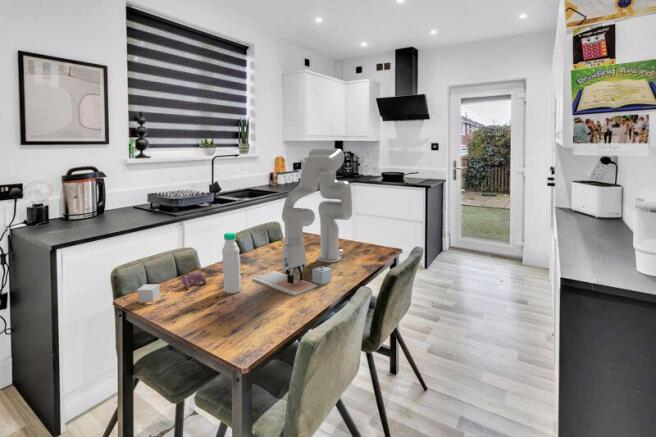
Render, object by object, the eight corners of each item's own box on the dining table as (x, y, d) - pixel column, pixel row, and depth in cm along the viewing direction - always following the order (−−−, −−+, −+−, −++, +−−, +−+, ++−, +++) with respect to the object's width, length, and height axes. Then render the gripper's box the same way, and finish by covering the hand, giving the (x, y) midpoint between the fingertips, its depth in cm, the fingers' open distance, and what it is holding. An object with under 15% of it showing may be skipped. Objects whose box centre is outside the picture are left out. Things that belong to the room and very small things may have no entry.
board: (274, 272, 186) (274, 270, 186) (316, 286, 168) (316, 284, 168) (252, 280, 177) (252, 277, 176) (295, 295, 159) (295, 293, 159)
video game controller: (203, 285, 175) (198, 270, 175) (208, 283, 172) (203, 268, 173) (183, 292, 167) (178, 276, 168) (188, 289, 164) (183, 274, 165)
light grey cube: (160, 298, 157) (159, 284, 156) (153, 304, 151) (152, 289, 150) (145, 298, 157) (144, 284, 156) (138, 304, 151) (137, 289, 150)
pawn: (294, 279, 171) (294, 264, 169) (301, 282, 168) (301, 266, 167) (287, 282, 168) (287, 267, 166) (294, 285, 165) (294, 269, 163)
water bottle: (224, 294, 160) (220, 236, 155) (224, 288, 167) (220, 232, 162) (241, 293, 162) (239, 234, 157) (240, 286, 169) (238, 230, 164)
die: (321, 278, 179) (321, 265, 178) (331, 281, 175) (331, 268, 174) (312, 281, 175) (312, 268, 174) (322, 285, 171) (322, 271, 170)
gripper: (301, 235, 173) (302, 274, 176) (272, 243, 160) (274, 284, 164) (314, 238, 168) (314, 278, 171) (285, 246, 155) (286, 289, 159)
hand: (294, 281), depth 168 cm, fingers closed on pawn, 4 cm apart
